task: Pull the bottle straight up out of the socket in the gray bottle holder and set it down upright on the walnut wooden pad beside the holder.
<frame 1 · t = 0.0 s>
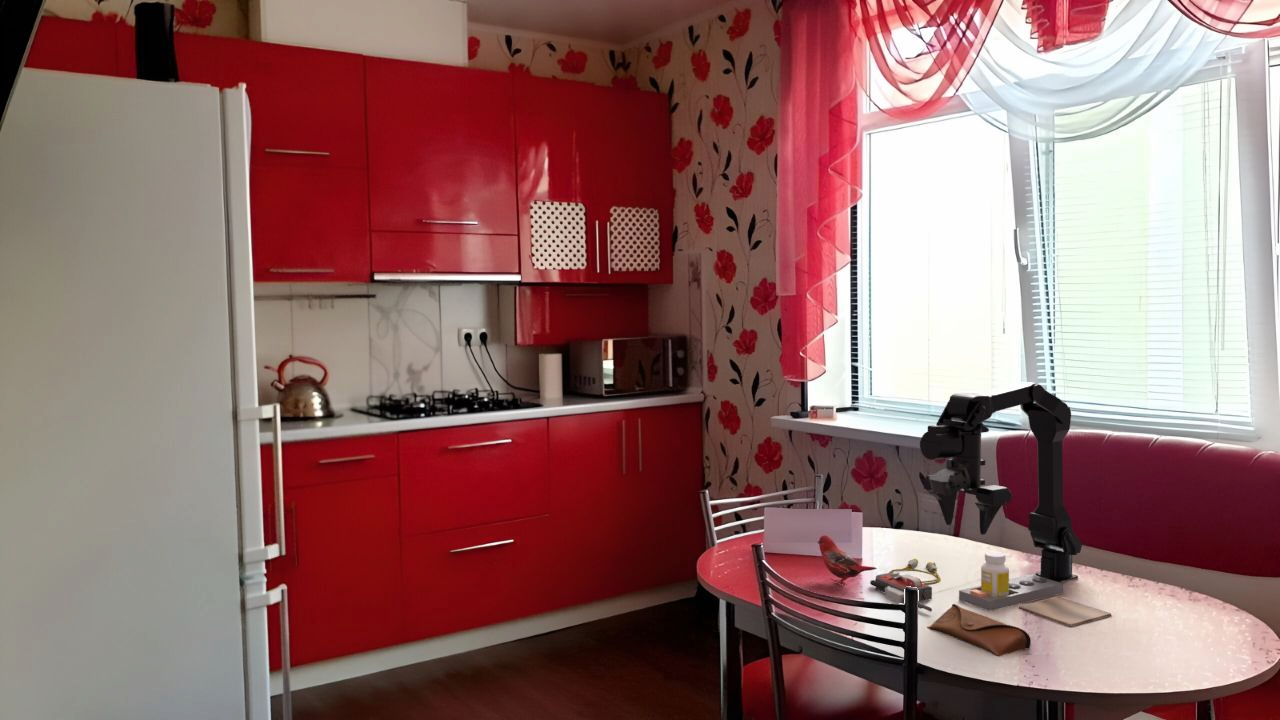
hand: (965, 529, 198), 15 cm above the table, fingers open, 9 cm apart
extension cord: (917, 578, 216), on the table
gray bottle holder: (1011, 596, 200), on the table
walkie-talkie: (909, 600, 200), on the table
sunglasses case: (976, 640, 178), on the table
supplement bottle: (994, 601, 198), resting in gray bottle holder
walnut pad: (1064, 612, 190), on the table
decorative bird figurine: (845, 587, 209), on the table
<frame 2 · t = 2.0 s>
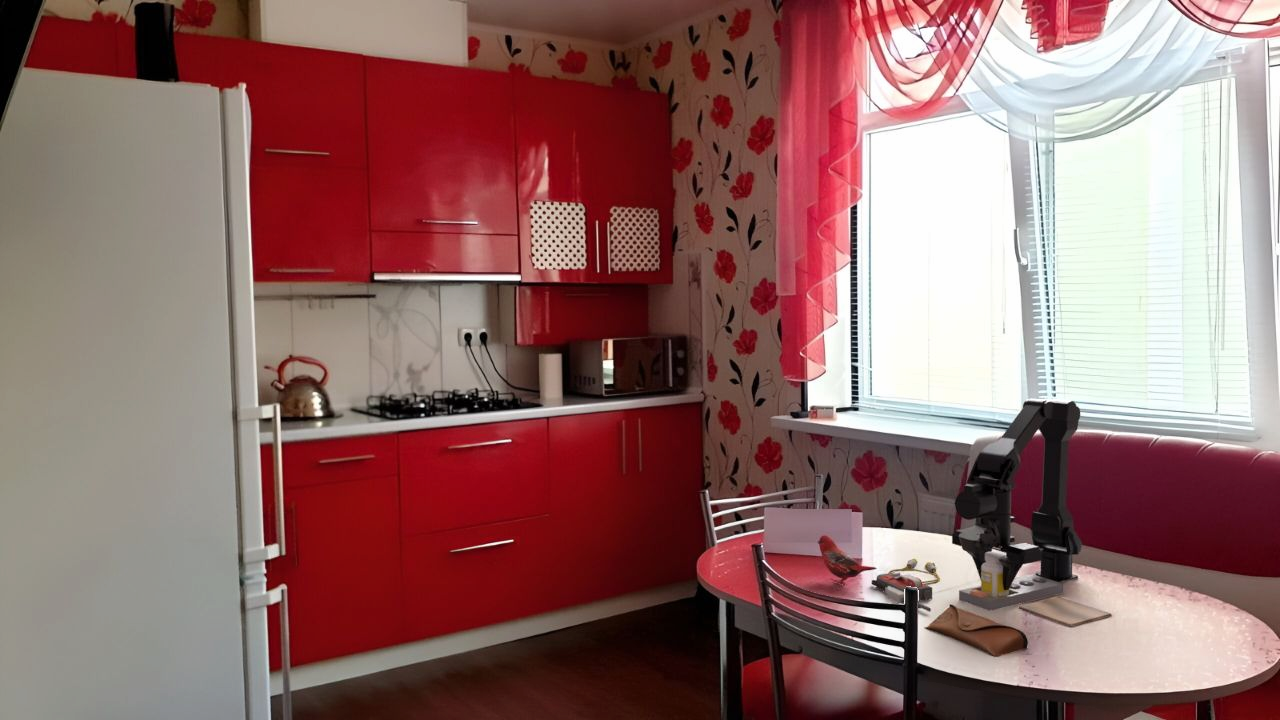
hand: (994, 586, 198), 3 cm above the table, fingers closed on supplement bottle, 5 cm apart
supplement bottle: (994, 601, 198), resting in gray bottle holder, touching gripper
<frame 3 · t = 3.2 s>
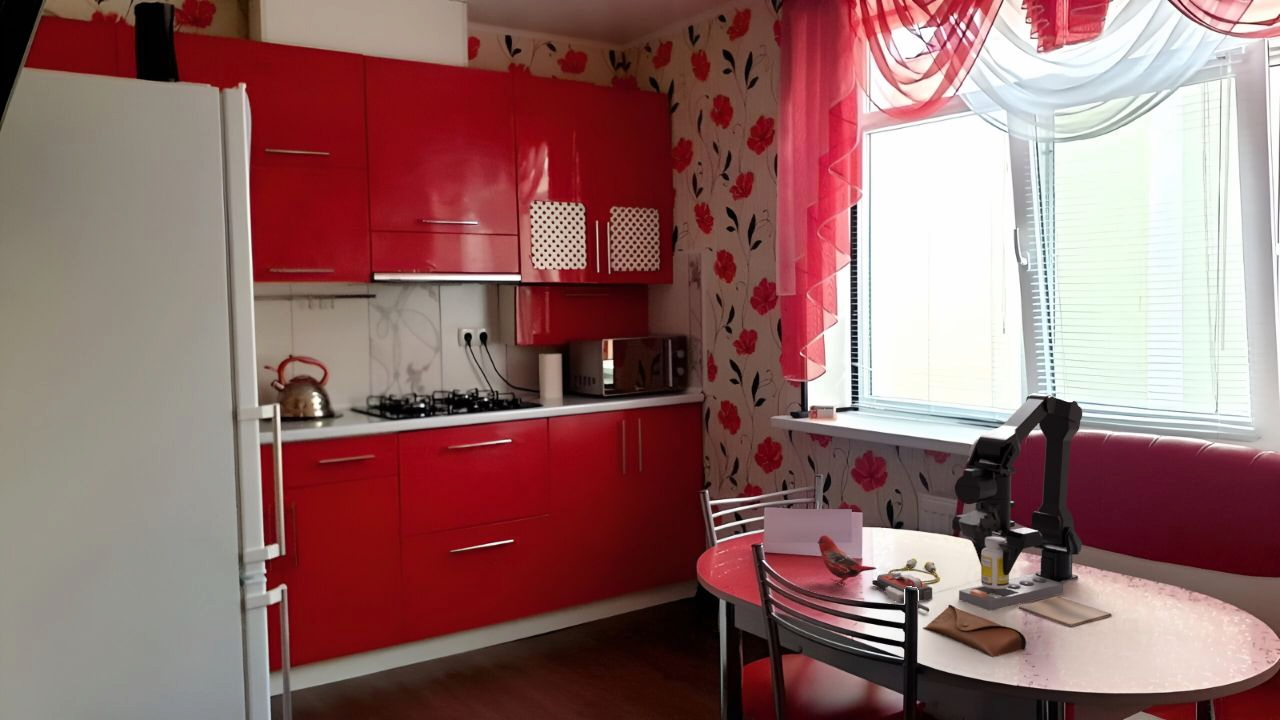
hand: (995, 571, 197), 6 cm above the table, fingers closed on supplement bottle, 5 cm apart
supplement bottle: (994, 586, 198), point 3 cm above the table, touching gripper
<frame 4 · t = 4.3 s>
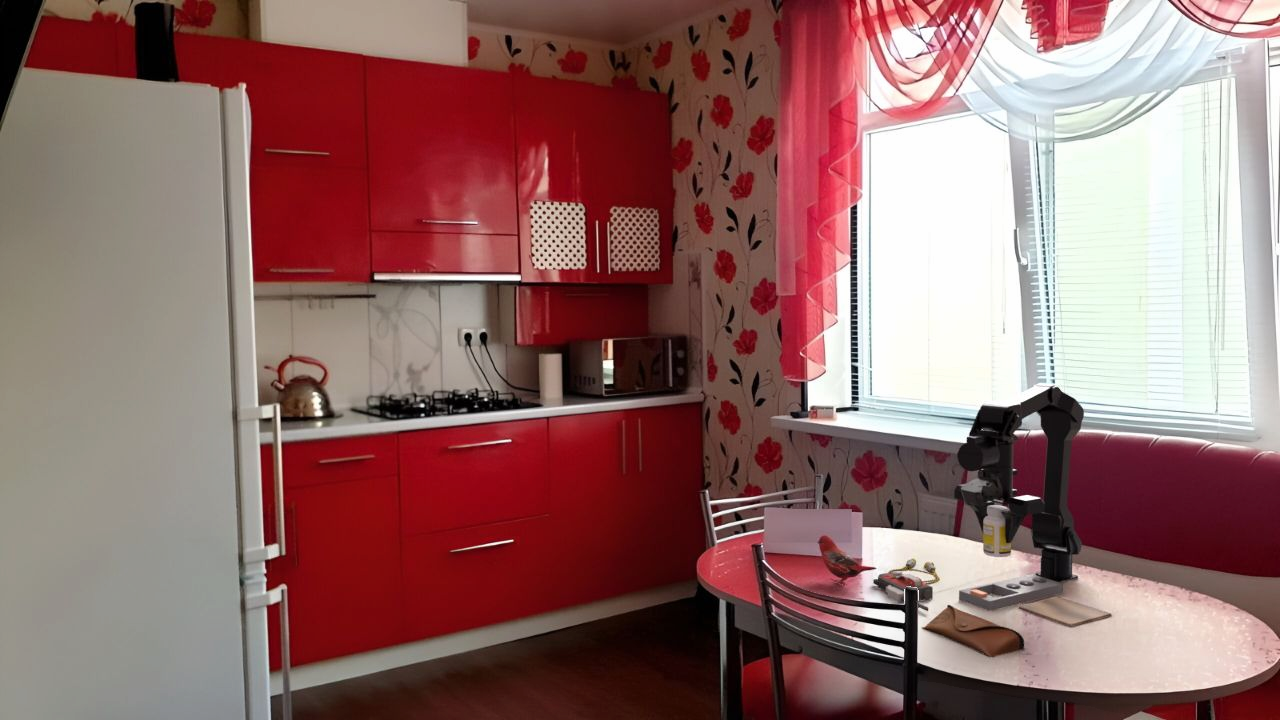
hand: (997, 539, 197), 13 cm above the table, fingers closed on supplement bottle, 5 cm apart
supplement bottle: (996, 555, 197), point 10 cm above the table, touching gripper
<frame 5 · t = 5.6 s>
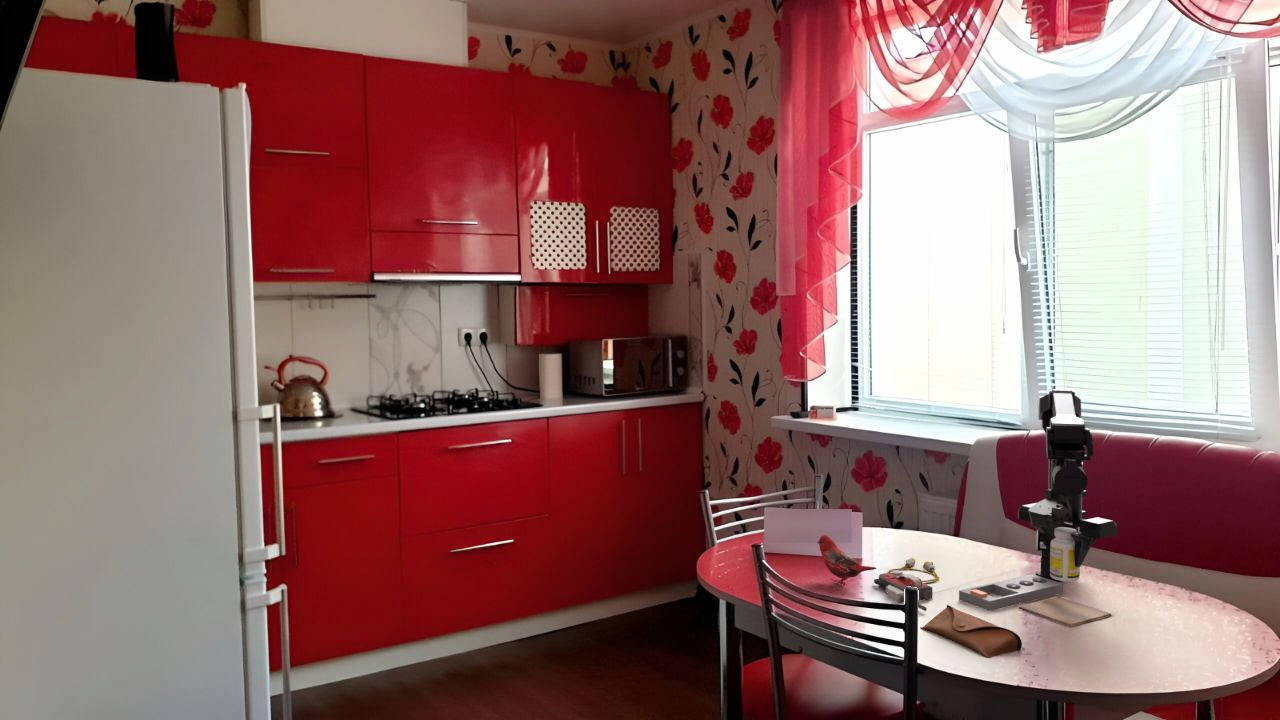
hand: (1065, 562, 190), 10 cm above the table, fingers closed on supplement bottle, 5 cm apart
supplement bottle: (1064, 578, 190), point 7 cm above the table, touching gripper
when the fingers open (5 cm above the table, at t = 6.8 s): supplement bottle drops 1 cm, resting on walnut pad.
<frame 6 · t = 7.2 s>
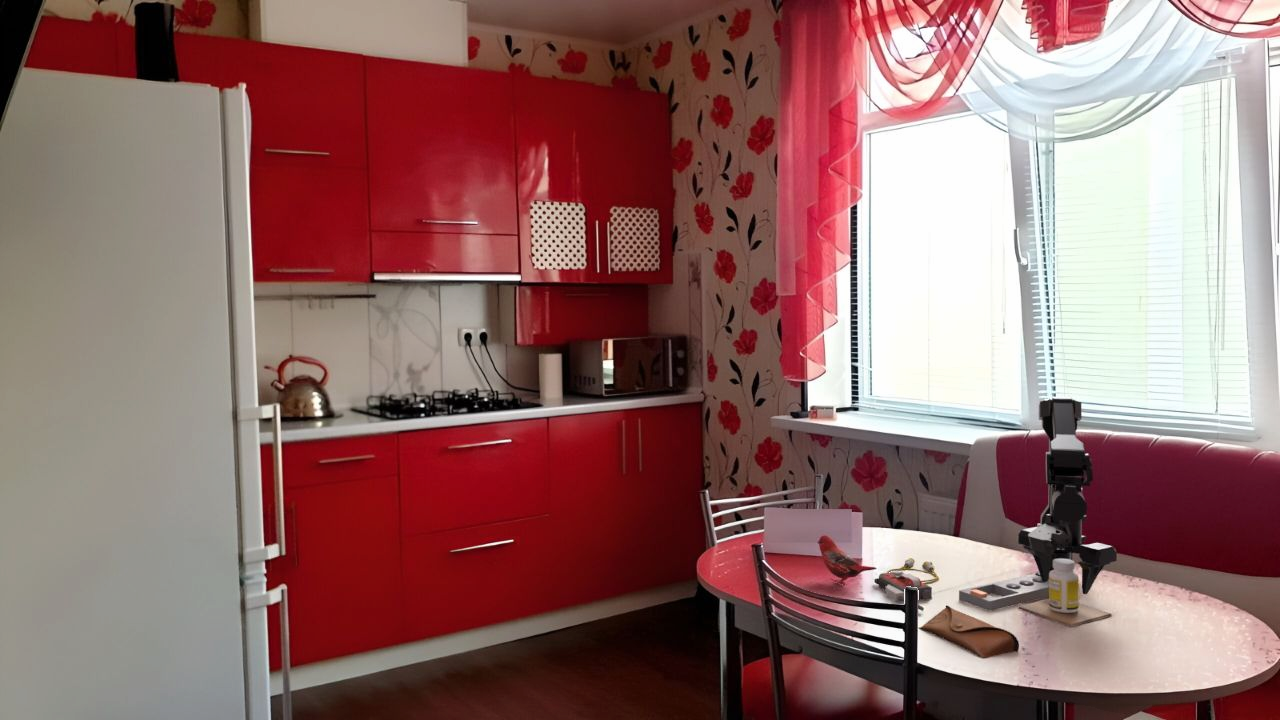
hand: (1064, 587, 190), 5 cm above the table, fingers open, 9 cm apart
supplement bottle: (1063, 610, 190), resting on walnut pad
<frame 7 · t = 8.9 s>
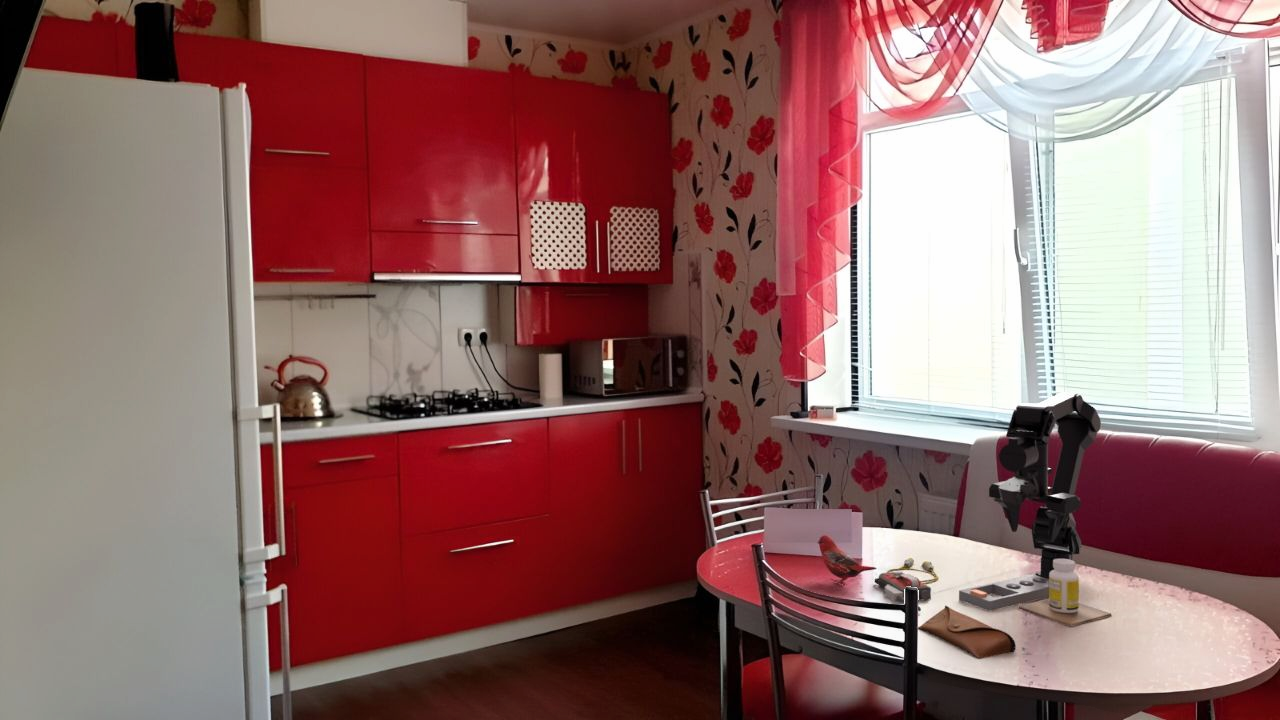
hand: (1032, 536, 203), 12 cm above the table, fingers open, 9 cm apart
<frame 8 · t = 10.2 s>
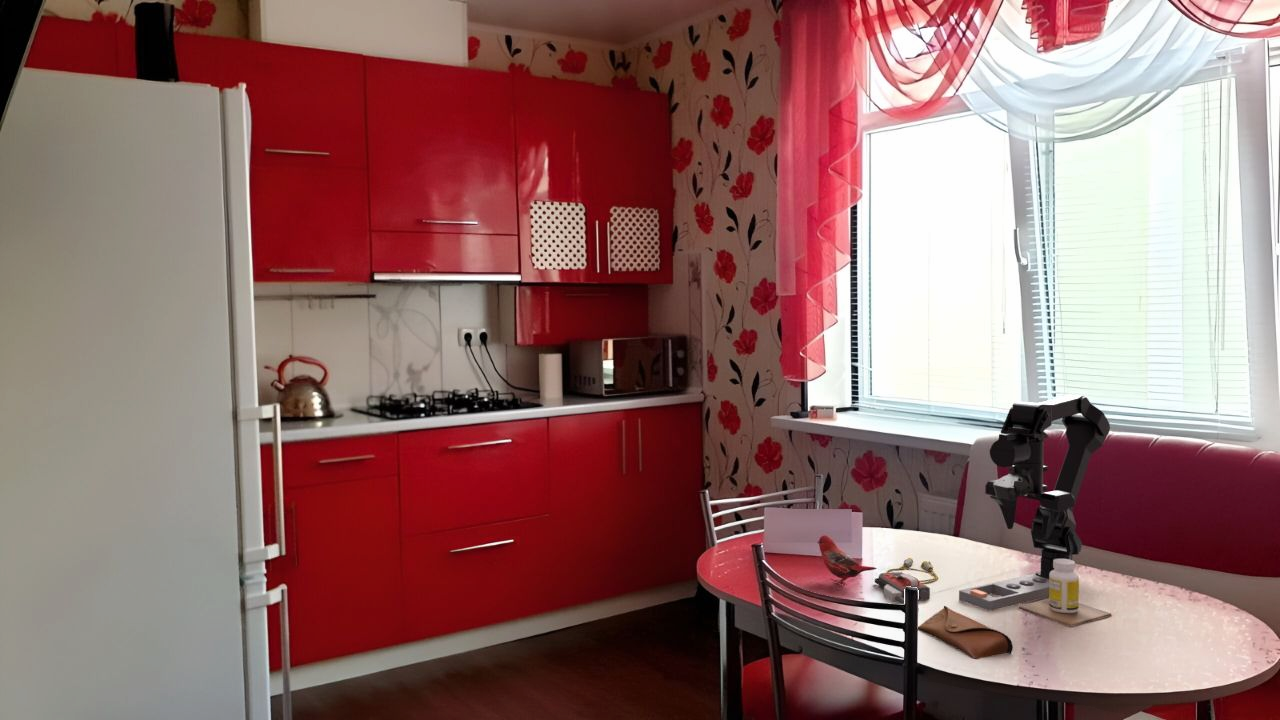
hand: (1027, 533, 204), 12 cm above the table, fingers open, 9 cm apart
at the end: supplement bottle inside the target area on the walnut pad (0.2 cm from its centre), point 0.3 cm above the walnut pad's base; supplement bottle tilted 0°; the gripper is holding nothing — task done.
